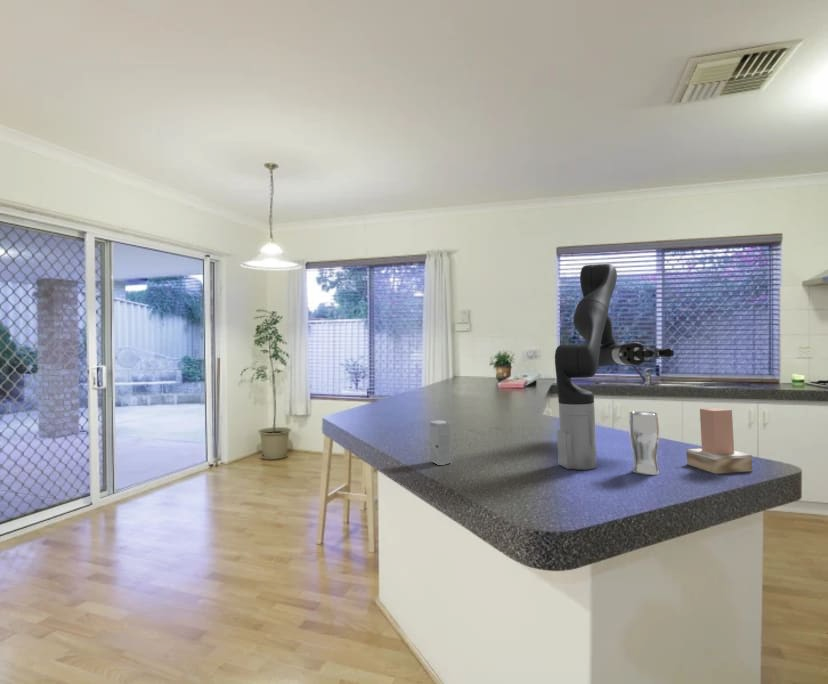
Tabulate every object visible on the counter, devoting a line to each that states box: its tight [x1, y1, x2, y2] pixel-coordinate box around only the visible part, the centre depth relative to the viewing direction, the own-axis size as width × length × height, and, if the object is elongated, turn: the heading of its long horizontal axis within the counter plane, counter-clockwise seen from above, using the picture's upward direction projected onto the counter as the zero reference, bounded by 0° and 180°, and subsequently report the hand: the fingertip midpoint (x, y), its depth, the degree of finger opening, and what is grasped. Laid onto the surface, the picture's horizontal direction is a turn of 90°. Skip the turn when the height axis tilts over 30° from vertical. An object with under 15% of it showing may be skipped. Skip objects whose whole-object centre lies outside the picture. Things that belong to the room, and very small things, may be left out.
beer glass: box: [628, 411, 660, 476], centre depth 119 cm, size 7×7×15 cm
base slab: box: [686, 447, 753, 474], centre depth 121 cm, size 10×10×4 cm
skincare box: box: [429, 419, 452, 464], centre depth 137 cm, size 6×4×12 cm
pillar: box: [699, 407, 735, 455], centre depth 121 cm, size 5×5×11 cm
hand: (658, 353), depth 139 cm, fingers open, 8 cm apart
